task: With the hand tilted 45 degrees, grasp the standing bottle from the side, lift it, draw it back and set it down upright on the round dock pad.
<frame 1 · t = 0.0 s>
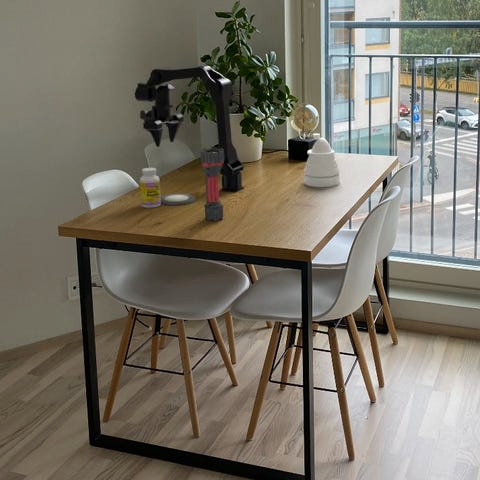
hand: (164, 144, 330), 15 cm above the table, tool pointing down, fingers open, 9 cm apart
honey pot: (321, 183, 326), on the table
dock pad: (176, 200, 309), on the table
supplement bottle: (151, 206, 304), on the table
flashlight: (215, 220, 285), on the table
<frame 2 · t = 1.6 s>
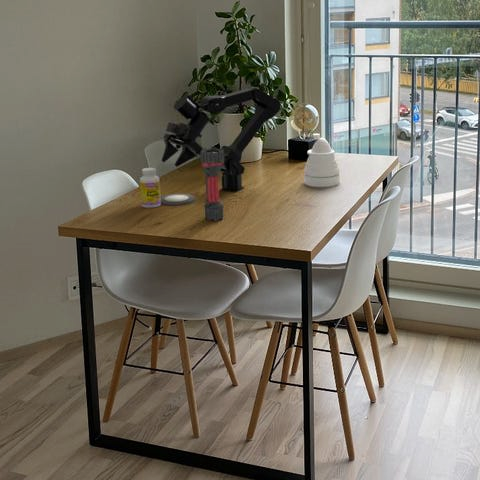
hand: (169, 163, 304), 13 cm above the table, tool tilted 45°, fingers open, 9 cm apart
nothing on the table moved.
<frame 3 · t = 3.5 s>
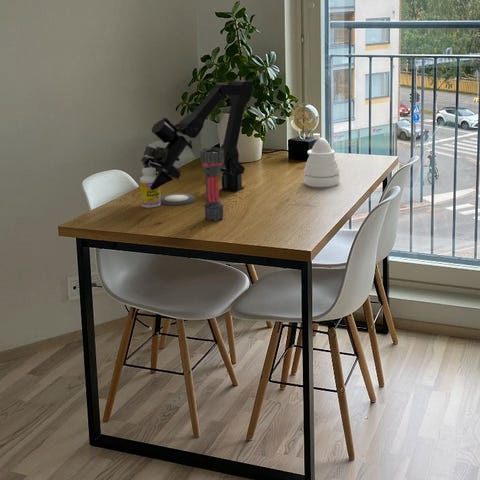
hand: (146, 187, 301), 7 cm above the table, tool tilted 45°, fingers closed on supplement bottle, 7 cm apart
supplement bottle: (151, 206, 304), on the table, touching gripper
everything else where it was.
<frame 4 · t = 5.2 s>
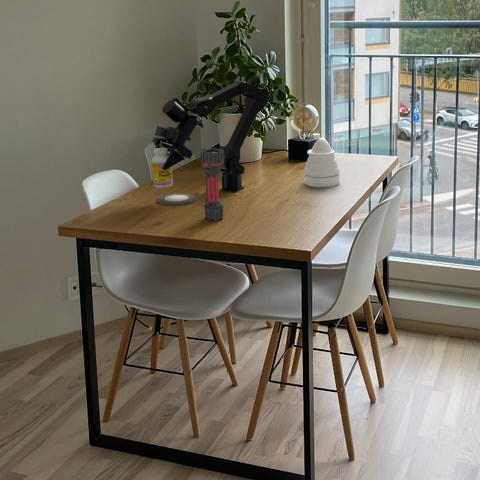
hand: (158, 167, 302), 13 cm above the table, tool tilted 45°, fingers closed on supplement bottle, 7 cm apart
supplement bottle: (163, 186, 305), point 6 cm above the table, touching gripper
everything else where it was.
when the fingers open (9 cm above the table, at t = 6.9 s): supplement bottle drops 1 cm, resting on dock pad.
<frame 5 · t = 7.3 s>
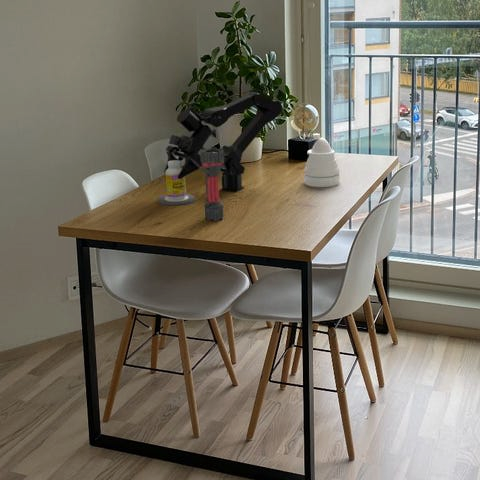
hand: (171, 175, 305), 9 cm above the table, tool tilted 45°, fingers open, 9 cm apart
supplement bottle: (176, 198, 309), point 1 cm above the table, touching dock pad
everything else where it was.
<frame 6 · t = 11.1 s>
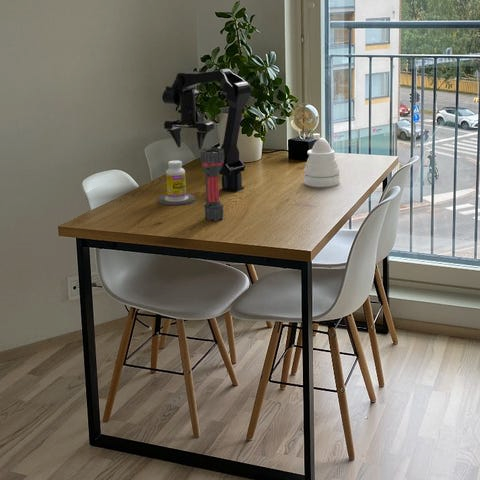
hand: (189, 148, 330), 13 cm above the table, tool pointing down, fingers open, 9 cm apart
nothing on the table moved.
at the end: supplement bottle 0.2 cm from the dock pad (horizontally); supplement bottle tilted 0°; the gripper is holding nothing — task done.
